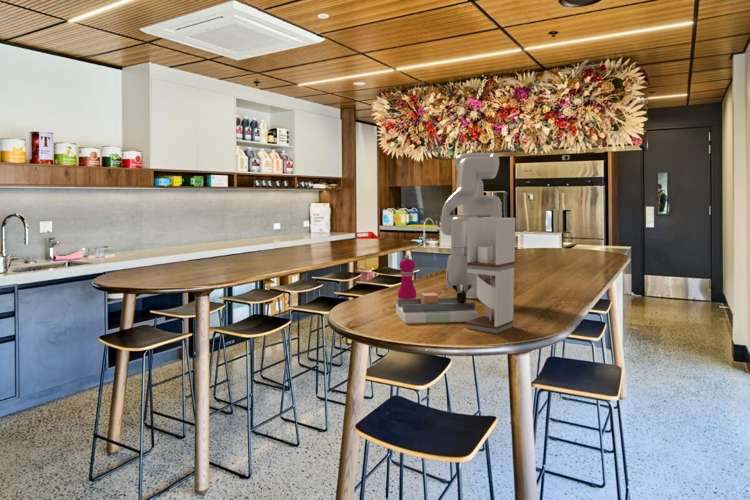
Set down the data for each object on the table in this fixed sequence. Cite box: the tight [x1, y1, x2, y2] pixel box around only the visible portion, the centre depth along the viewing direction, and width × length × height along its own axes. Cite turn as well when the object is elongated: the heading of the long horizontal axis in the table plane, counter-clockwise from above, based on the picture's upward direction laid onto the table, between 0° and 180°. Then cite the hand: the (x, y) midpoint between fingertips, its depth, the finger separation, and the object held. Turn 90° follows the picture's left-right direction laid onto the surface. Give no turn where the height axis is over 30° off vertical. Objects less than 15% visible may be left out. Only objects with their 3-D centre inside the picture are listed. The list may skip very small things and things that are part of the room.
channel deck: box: [395, 303, 479, 324], centre depth 186 cm, size 25×18×3 cm
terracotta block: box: [420, 292, 439, 304], centre depth 185 cm, size 5×5×5 cm
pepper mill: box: [397, 254, 417, 299], centre depth 204 cm, size 7×7×20 cm
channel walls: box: [397, 296, 476, 312], centre depth 186 cm, size 25×11×2 cm, turn 97°
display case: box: [465, 217, 516, 334], centre depth 169 cm, size 11×11×35 cm
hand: (461, 303), depth 187 cm, fingers closed
